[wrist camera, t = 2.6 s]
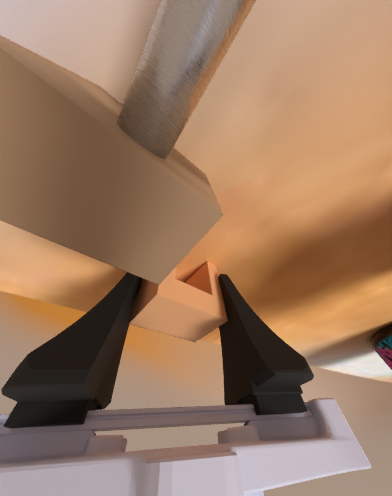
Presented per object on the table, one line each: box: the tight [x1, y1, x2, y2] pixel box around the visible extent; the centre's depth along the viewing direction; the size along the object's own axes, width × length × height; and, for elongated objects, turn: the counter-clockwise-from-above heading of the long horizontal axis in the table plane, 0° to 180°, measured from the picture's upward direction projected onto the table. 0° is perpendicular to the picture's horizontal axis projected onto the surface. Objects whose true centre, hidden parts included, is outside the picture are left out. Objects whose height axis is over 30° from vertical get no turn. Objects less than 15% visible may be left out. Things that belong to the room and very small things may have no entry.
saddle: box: [129, 261, 228, 342], centre depth 12 cm, size 5×4×5 cm
